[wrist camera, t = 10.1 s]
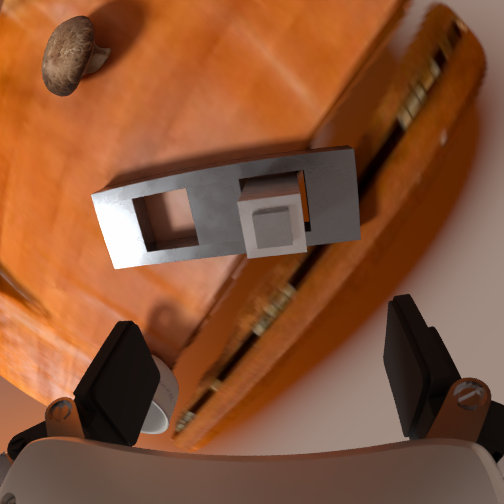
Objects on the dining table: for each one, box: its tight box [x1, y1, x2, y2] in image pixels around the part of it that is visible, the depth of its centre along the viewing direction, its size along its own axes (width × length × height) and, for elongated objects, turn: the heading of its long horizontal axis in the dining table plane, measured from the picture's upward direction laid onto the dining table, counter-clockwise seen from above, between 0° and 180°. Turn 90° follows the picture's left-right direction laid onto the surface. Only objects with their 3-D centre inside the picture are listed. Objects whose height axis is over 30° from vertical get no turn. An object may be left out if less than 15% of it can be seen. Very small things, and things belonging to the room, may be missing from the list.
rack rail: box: [91, 145, 361, 269], centre depth 29 cm, size 24×8×2 cm, turn 100°
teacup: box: [140, 354, 179, 434], centre depth 36 cm, size 14×11×8 cm
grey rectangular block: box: [237, 171, 307, 258], centre depth 25 cm, size 4×4×9 cm
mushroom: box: [42, 16, 111, 96], centre depth 22 cm, size 8×8×6 cm
